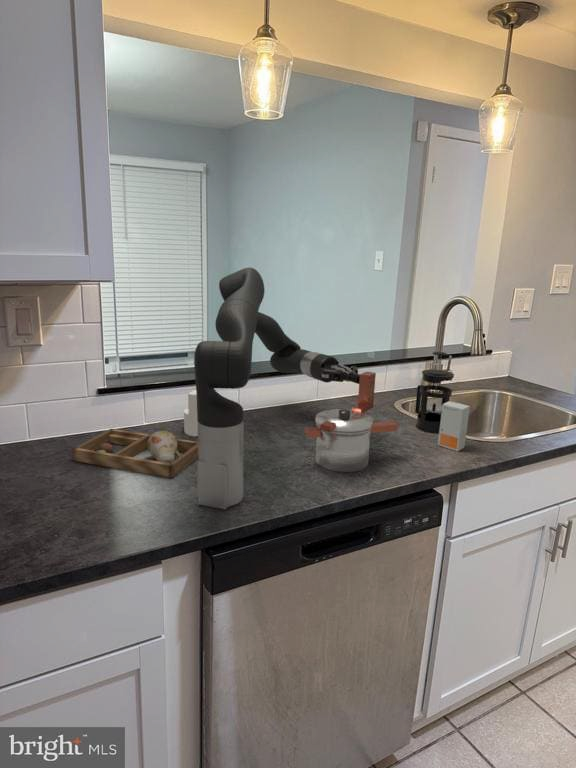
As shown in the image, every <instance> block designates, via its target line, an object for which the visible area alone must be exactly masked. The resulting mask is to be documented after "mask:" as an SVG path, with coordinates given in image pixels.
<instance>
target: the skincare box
mask: <svg viewBox="0 0 576 768" xmlns="http://www.w3.org/2000/svg"><path fill="white" fill-rule="evenodd" d="M470 409H471V406H470V405H466V404H462V403H459V402H454V401H451V400H449V402H446V403H444V404H443V405H442V413H441V422H440V430H439V433H438V438H437V439H438V440H437V446H440V447H443V448H445V449H449V450H453V451H455V452H459V451H461V450H463V449H464V448H465V446H466V439H467V430H468V421H469V416H470Z"/></svg>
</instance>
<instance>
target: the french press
mask: <svg viewBox="0 0 576 768" xmlns="http://www.w3.org/2000/svg"><path fill="white" fill-rule="evenodd" d="M432 354H433V355H435V356H437V360H438V361H437V362H438V363H437V369H424V370H422V371H421V374H422V380H423V381H424V382H427V383H430V384H427V385H424V384H418V385H417V388H416V400H415V409H414V413H415V414H417V419H416V423H415V427H416V429H417V430H420V431H422V432H425V433H429V434H439V430H440V422H441V413H442V405H443V404H444V403H446V402H449V401H450V397H452V393H453V389H451V388H450V387H447V386H443V385H442V386H441V385H438V384H439V383H441V382H443V381H444V380H449V381H451V382H452V381H453V378H454V376H455V374H454V373H453V372H451V371H448V370H443V369H440V363H441V360H442V356H448V353H447V352H444V351H434V352H432ZM432 384H435V385H432ZM430 390H434V392H430ZM437 391H441V392H442V393H440V392H439V393H437ZM428 397H429V398H434V399H433V403H432V402H428V400H429V398H428ZM437 399H441V404H439V403H436V401H437Z"/></svg>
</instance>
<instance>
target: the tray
mask: <svg viewBox="0 0 576 768" xmlns="http://www.w3.org/2000/svg"><path fill="white" fill-rule="evenodd" d="M151 435H152V434H149V433H143V432H136V431H130V430H129V431H128V430H121V429H115V428H109V429H107V430H105V431H103V432H102V433H100V434H98V435H97V436H95V437H93V438H90V439H89V440H87V441H85V442H83V443H81V444H79V445H77V446H75V447H74V448H72V459H73V461H74V462H79V463H83V464H84V463H86V464H89V465H90V464H91V465H96V466H103V467H107V468H114V469H118V470H125V471H130V472H135V473H141V474H146V475H147V474H148V475H153V476H159V477H163V478H169V479H175V477H176V476H177V475H179V474H180V473H181V472H182V471H184V470H185V469H186V468H187V467H188V466H190V465H192V463H194V462H195V461H196V460H198V441H194V440H188V439H187V440H186V439H182V438H181V439H180V438H176V439H177V450H178V452H179V453H183V454H180V455H181V456H180V457H179V458H178V457H177V458H176V459H175V461H174V462H172V463H171V464H170V463H164V462H158V461H157V460H151V459H145V458H139V457H135V456H137V455H139V454H140V453H142V452H144V451H145V450H146V449H148V446H147V442H148V439H149V438H150V436H151ZM104 443H109V444H112V443H114V445H119V444H120V445H121V446H125V447H124V448H122V449H120V450H119V451H117V452H115V453H112V452H111V453H105V452H99V451H98V450H100V446H101V445H102V444H104ZM95 450H96V451H95Z"/></svg>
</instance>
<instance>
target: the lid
mask: <svg viewBox="0 0 576 768" xmlns="http://www.w3.org/2000/svg"><path fill="white" fill-rule="evenodd" d="M359 374H360V380H359V384H358V386H359V387H358V397H357V404H355V405H353V406H352V407H351V409H344V408H343V409H341V408H340V409H339V408H338V409H336V408H335V409H327V410H323V411H321V412H318V413H317V414H316V415H315V420H314V421H315V424H316V423H317V425H319V426H320V430H322V431H326V432H332V431H337V432H361V431H365V430H368V429H370V428H371V427H372V426H373V422H374V418H373V417H372V416H371V415H370V414H367V413H366V412H368V411H369V410H371V409H372V408H374V400H375V399H374V398H375V389H376V388H375V387H376V375H377V374H376V372H373V371H364V372H362V373H359ZM317 425H316V426H317Z"/></svg>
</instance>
